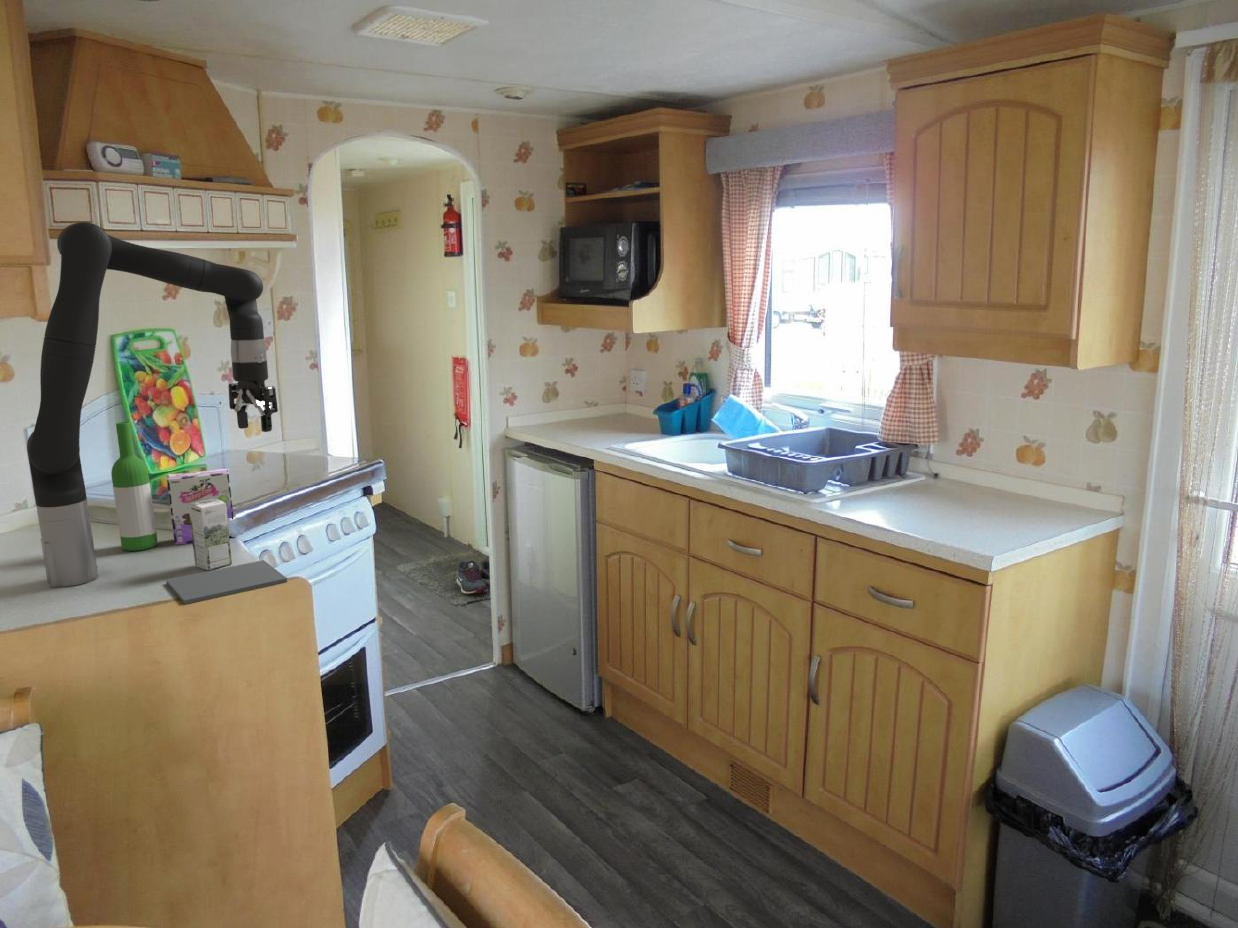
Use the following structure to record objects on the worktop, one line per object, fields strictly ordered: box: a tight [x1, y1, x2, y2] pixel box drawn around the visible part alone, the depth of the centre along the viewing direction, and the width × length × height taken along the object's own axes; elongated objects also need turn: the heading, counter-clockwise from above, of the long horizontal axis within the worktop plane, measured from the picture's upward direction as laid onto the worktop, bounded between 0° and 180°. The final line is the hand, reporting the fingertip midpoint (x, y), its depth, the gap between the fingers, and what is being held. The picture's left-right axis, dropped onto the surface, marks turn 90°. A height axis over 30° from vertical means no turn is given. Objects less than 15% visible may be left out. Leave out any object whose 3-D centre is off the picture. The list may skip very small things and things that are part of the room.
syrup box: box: [189, 499, 233, 572], centre depth 206 cm, size 6×6×14 cm
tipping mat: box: [166, 559, 288, 605], centre depth 196 cm, size 20×16×1 cm
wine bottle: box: [111, 421, 158, 552], centre depth 220 cm, size 8×8×30 cm
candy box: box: [166, 468, 235, 546], centre depth 227 cm, size 14×6×16 cm, turn 114°
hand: (255, 429), depth 217 cm, fingers open, 8 cm apart
